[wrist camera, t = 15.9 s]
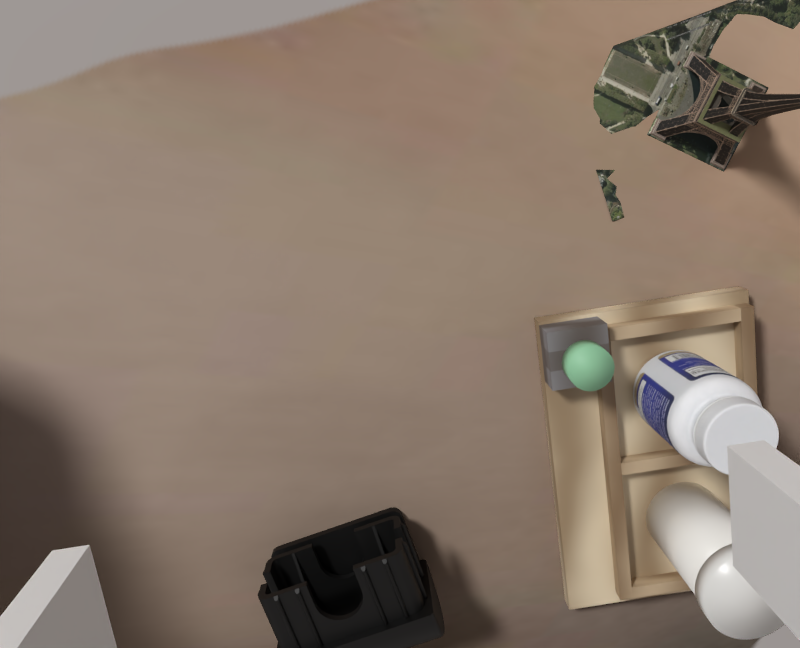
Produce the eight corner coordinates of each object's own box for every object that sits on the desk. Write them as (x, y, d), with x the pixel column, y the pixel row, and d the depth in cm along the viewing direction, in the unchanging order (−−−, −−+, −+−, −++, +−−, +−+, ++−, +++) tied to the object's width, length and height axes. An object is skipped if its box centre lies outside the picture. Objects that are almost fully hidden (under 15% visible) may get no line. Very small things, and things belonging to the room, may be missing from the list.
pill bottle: (672, 444, 48) (738, 508, 39) (613, 394, 47) (669, 448, 39) (731, 383, 47) (812, 434, 39) (673, 330, 46) (743, 371, 38)
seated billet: (645, 557, 50) (706, 646, 41) (639, 485, 49) (701, 560, 40) (723, 545, 50) (801, 631, 41) (719, 473, 49) (798, 545, 40)
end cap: (301, 638, 52) (292, 710, 45) (263, 550, 50) (247, 611, 43) (439, 591, 51) (450, 657, 45) (405, 501, 50) (411, 555, 43)
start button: (555, 376, 46) (570, 394, 42) (551, 335, 45) (566, 350, 42) (597, 370, 46) (616, 387, 42) (594, 328, 45) (612, 343, 42)
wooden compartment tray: (565, 599, 52) (577, 628, 48) (534, 317, 47) (546, 329, 44) (751, 570, 52) (776, 596, 49) (738, 286, 47) (765, 295, 44)
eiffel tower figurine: (805, -29, 44) (990, -105, 31) (842, 139, 46) (1029, 135, 33) (561, 64, 44) (641, 29, 31) (610, 226, 47) (704, 256, 34)
